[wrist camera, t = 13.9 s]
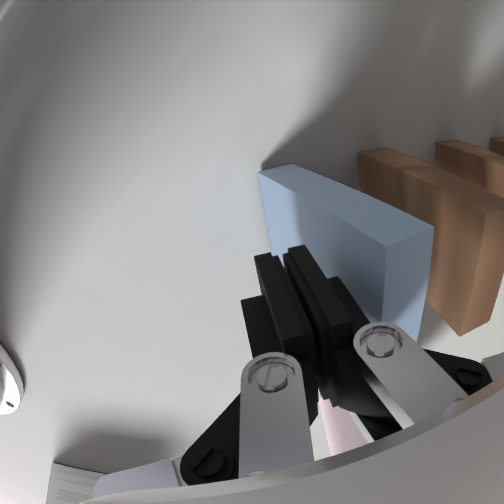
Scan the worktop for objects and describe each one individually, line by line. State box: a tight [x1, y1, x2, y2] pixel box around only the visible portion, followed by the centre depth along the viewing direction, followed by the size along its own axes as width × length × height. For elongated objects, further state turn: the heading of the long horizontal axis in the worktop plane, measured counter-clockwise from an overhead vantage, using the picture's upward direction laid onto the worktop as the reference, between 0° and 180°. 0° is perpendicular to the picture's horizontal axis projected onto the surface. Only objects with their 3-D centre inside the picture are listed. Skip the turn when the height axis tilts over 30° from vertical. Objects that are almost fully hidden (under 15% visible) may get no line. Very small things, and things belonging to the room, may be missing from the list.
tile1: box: [257, 164, 434, 343], centre depth 12 cm, size 2×5×9 cm, turn 10°
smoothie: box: [319, 396, 368, 456], centre depth 18 cm, size 6×6×14 cm
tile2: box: [358, 148, 504, 337], centre depth 13 cm, size 2×5×9 cm, turn 10°
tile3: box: [436, 140, 504, 198], centre depth 13 cm, size 2×5×9 cm, turn 10°
